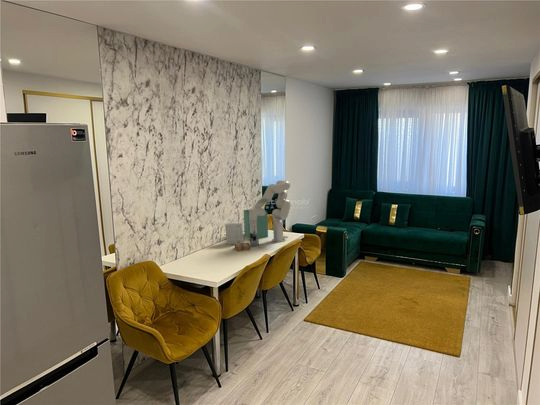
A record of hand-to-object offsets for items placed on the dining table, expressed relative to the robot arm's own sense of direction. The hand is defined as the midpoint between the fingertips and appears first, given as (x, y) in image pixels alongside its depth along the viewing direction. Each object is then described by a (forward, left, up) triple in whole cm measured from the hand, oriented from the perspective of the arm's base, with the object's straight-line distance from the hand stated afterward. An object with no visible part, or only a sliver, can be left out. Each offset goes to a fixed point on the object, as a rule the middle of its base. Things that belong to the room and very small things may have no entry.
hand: (253, 239), depth 365 cm
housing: (-1, 0, -6) cm, 6 cm away
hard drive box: (+15, -15, -7) cm, 22 cm away
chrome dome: (-6, +6, -7) cm, 10 cm away
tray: (+12, +7, -6) cm, 15 cm away
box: (-12, -38, -7) cm, 41 cm away
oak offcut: (+6, -2, -6) cm, 9 cm away
